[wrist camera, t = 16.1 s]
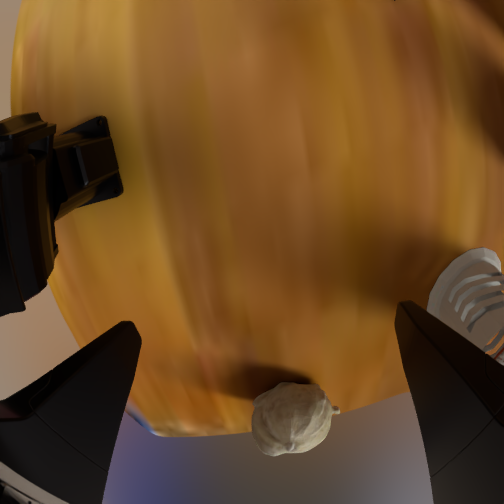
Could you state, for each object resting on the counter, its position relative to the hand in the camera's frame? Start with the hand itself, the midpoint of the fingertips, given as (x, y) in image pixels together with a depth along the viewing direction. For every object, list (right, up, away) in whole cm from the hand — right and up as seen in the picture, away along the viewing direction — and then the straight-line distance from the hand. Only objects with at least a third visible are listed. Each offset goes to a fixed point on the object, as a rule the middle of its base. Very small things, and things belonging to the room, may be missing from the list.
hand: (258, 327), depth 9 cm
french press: (+22, -1, +12) cm, 25 cm away
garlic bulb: (+5, -13, +20) cm, 24 cm away
